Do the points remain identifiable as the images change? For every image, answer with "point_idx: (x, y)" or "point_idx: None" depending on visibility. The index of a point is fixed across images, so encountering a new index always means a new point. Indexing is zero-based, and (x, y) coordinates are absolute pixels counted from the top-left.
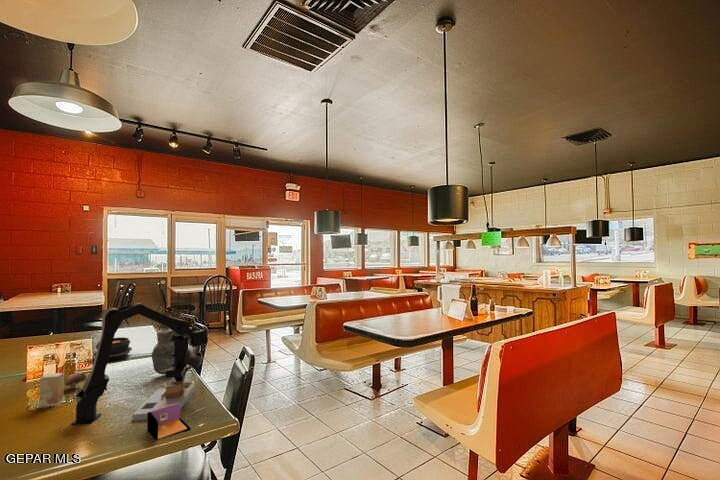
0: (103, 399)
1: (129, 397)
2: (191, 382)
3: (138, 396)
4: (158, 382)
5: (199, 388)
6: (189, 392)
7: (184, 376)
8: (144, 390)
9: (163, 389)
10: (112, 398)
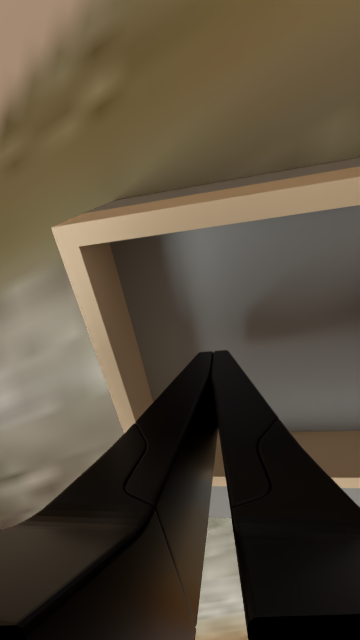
0: (240, 632)
1: (228, 573)
2: (91, 267)
3: (218, 547)
4: (8, 521)
5: (26, 176)
6: (342, 168)
7: (173, 452)
8: None
9: (212, 487)
10: (233, 614)
